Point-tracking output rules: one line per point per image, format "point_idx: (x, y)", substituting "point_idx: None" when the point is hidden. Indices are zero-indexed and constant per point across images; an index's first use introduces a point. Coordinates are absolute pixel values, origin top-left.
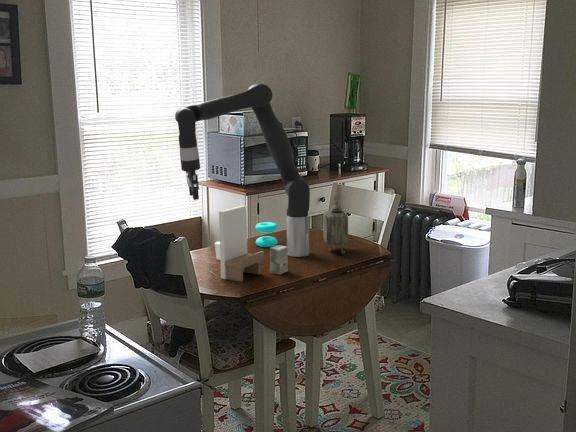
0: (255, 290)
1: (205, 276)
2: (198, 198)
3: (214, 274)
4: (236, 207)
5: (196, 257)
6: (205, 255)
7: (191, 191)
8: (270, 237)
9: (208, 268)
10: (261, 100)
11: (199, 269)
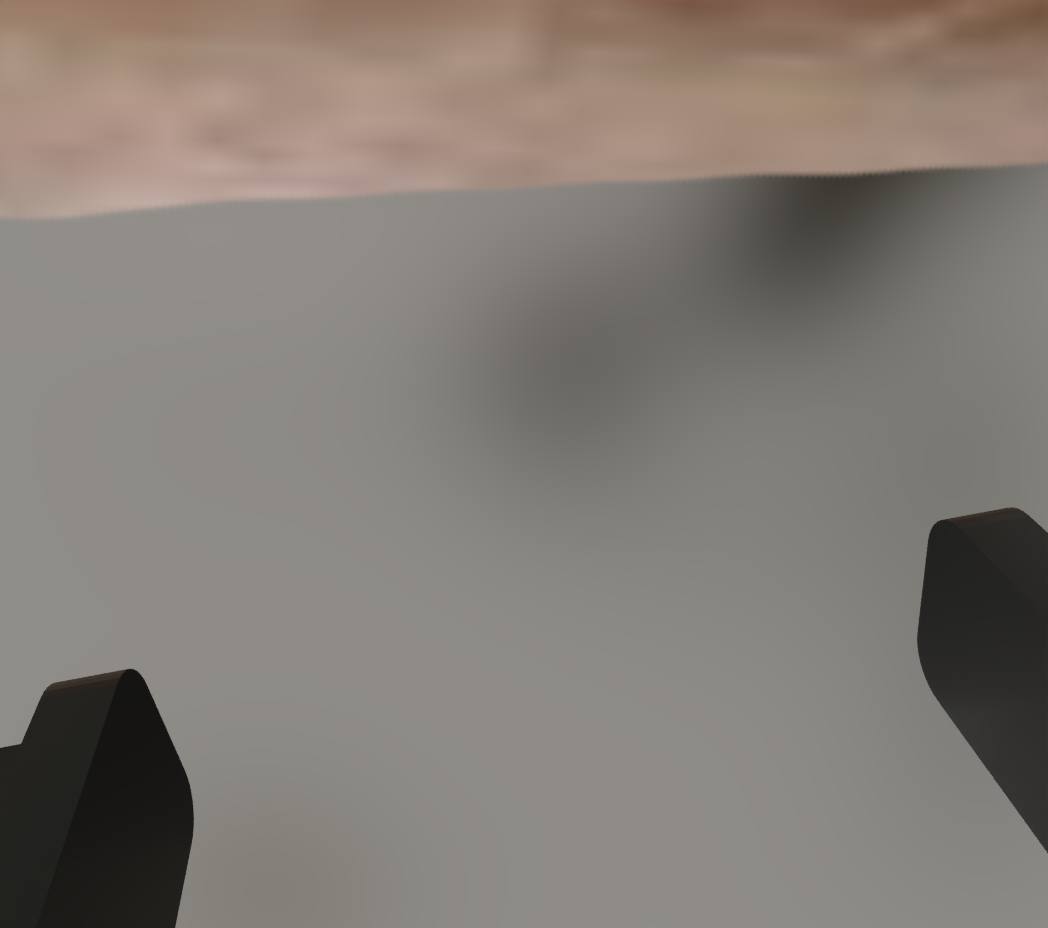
0: None
1: (1039, 111)
2: (1022, 521)
3: (1010, 3)
4: None
5: (265, 194)
6: (175, 75)
7: (142, 910)
8: None
9: (762, 62)
10: None
11: (770, 169)
